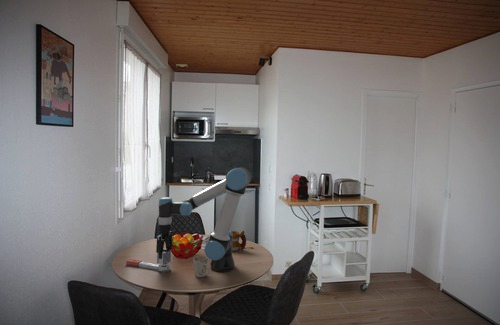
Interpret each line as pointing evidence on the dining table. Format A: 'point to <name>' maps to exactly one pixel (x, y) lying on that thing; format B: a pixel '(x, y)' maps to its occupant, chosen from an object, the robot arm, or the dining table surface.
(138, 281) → the dining table surface
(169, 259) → the socket
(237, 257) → the dining table surface
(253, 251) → the dining table surface
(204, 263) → the mug
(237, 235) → the mug
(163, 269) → the ratchet
